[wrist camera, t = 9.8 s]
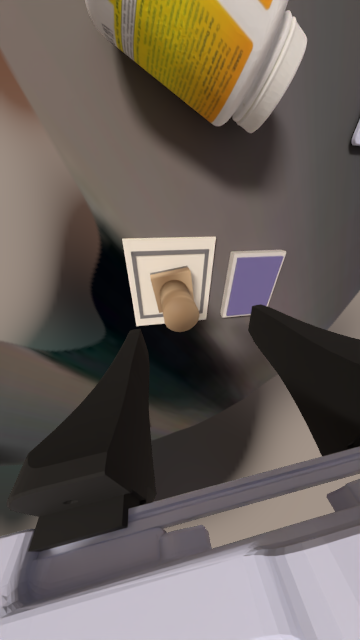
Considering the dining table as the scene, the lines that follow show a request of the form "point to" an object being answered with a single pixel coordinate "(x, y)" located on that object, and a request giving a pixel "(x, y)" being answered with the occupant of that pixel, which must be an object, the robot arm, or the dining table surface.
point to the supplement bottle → (210, 51)
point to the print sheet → (163, 256)
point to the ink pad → (250, 280)
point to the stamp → (175, 298)
